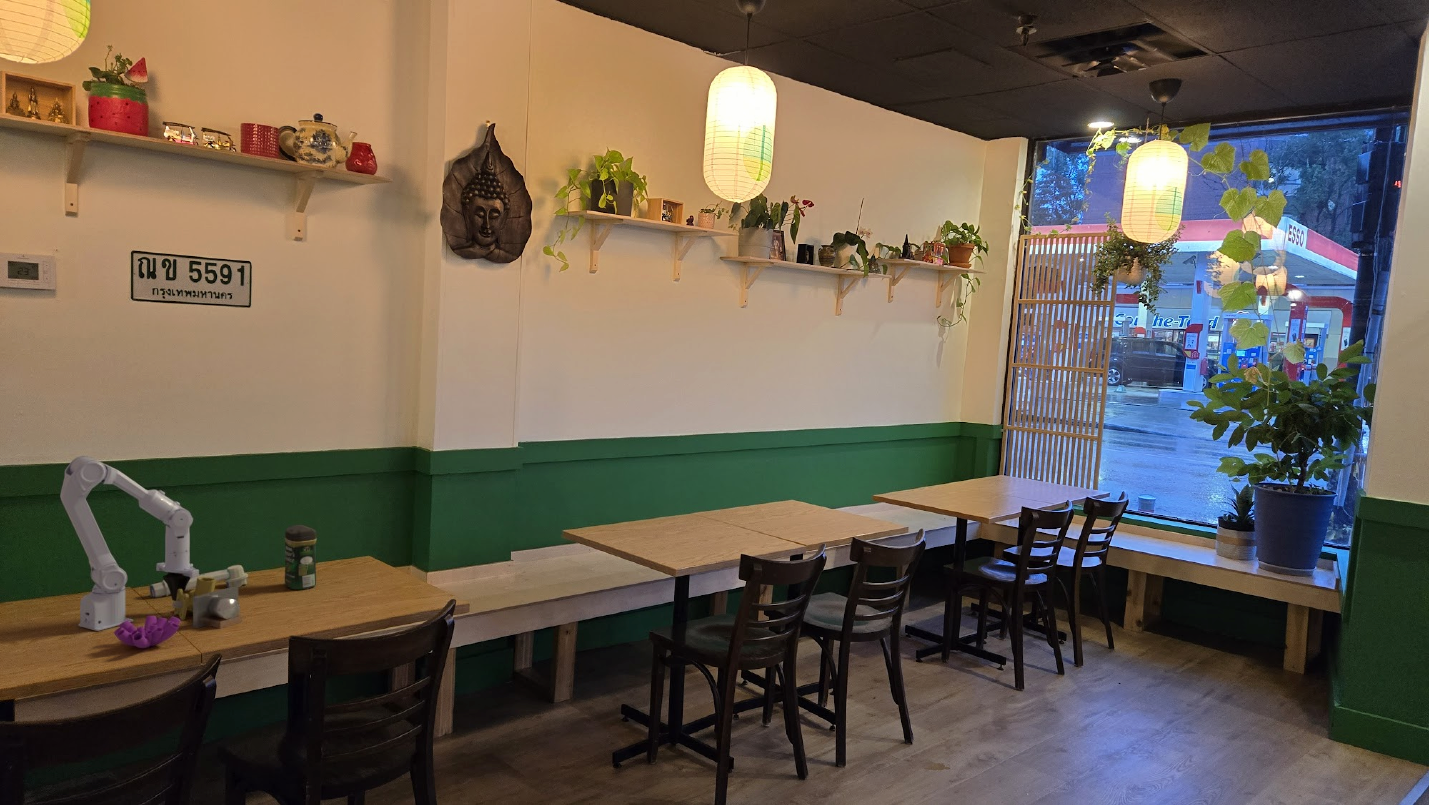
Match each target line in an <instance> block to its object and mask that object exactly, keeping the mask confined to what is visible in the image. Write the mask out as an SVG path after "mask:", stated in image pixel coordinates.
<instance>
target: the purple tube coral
mask: <svg viewBox="0 0 1429 805" xmlns="http://www.w3.org/2000/svg"><path fill="white" fill-rule="evenodd" d="M181 621H182V620H181V619H180V618H178V617H175V616H171V617H170V618H169V619H167V618H165V617H157V616H156V615H148V616H146V617H145V620H144V626H143V625H142V626H139V627H135V625H134V624H133V623H132V622H129V621H128V620H127V621H125V622H123V623H121V624H120V625H118V626H119V627H118V628H117V629H115V630H114V632H113V633H114V635H115V637H116V638H117V639H118V640H119V641H120V642H122V643H123V644H126V645H128V646H133V647H137V648H138V649H147V648H149V647H153V646H155V645H158V644H161V643H163V642H164V641H167V640H169V639H170V638H171V637H173V636H174V635H175V634H176V633H177V631H178V630H179V628H180V626H179V624H181Z"/></svg>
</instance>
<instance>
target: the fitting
mask: <svg viewBox="0 0 1429 805" xmlns="http://www.w3.org/2000/svg"><path fill="white" fill-rule="evenodd" d="M240 611H241V605H240V602H239V587H235V586H234V587H230V588H229V587H227V588H226V587H225V588H221V589H218V590H214V592H210V593H207V594H203V595H199V596H195V597H193V611H192V615H193V616H192V618H193V620H192V621H193V623H192V627H193V628H196V629H199V628H202V627H206V626H209V627H212V626H213V628H217V629H223V628H227V627H230V626H233V625H236V624H237V625H238V624H239V623H243V615H242V614H239V613H240Z"/></svg>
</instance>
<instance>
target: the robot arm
mask: <svg viewBox="0 0 1429 805" xmlns="http://www.w3.org/2000/svg"><path fill="white" fill-rule="evenodd" d="M100 483H101V484H103V485H113V486H115V487H117V488H119V489H120V490H122V491H124V492H125V493H126V494H129V495H130V496H131V497H133V498H134V499H136V500H138V506H139V508H140V509H142V510H144V511H145V512H146V513H148V514H150V515H151V516H153V517H154V518H156V519H157V520H159V521H162V523H163V524H164V525H165V534H164V535H165V536H164V537H165V541H164V543H165V547H164V548H165V552H164V554H165V555H164V557H165V560H164V562H158V563H156V565H155V566H156V567H155V568H156V570H155V571H156V572H157V571H158V572H166V573H167V574H165V575H163V576H162V579H163V580H164V581H165V582H166V583H167V585H168V588H169V590H170V596H171V600H172V601H173V602H174V601H176V598H177V593H178V589H182V590H183V593H184V594H185V591H186V590H185V589H186V586H187V584H188V582H189V580H190V579H191V578H196V577H199V575H200V570H199V569H196V568H195V567H194V564H193V563H190V551H191V550H190V546H191V545H190V544H191V543H190V542H191V541H190V540H191V539H190V534H191V533H190V527H191V526H192V524H193V521H194V517H193V516H192V515H191V512H190V511H189V510H188V509H186V508H183V507H182V506H181V503H180V502H178V501H174V500H173V499H171V498H169V497H167V496H166V495H165V494H166V492H165V491H162V490H161V489H159V490H157V489H149V490H148V489H146V488H144V487H143V486H141V485H140V484H139V483H137V482H136V481H135V480H133V479H131V478H130V477H129V476H127V475H126V474H124V473H123V472H122V471H120V470H118V469H116V468H114V467H112V466H110V465H108V464H106V463H103V462H101V461H99V460H96V459H94V457H92V456H89V455H80V456H77V457H75V458H74V459H72V460H71V462H70V463H69V464H68V466H67V467H66V468H65V469H64V479H63V481H62V487H61V490H60V500H61V503H62V505H63V507H64V509H65V511H66V513H67V515H68V517H69V519H70V521H71V524H72V526H73V528H74V530H75V532H76V535H77V536H78V538H79V541H80V542H81V545H82V547H83V549H84V552H85V554H86V555H87V558H88V563H89V565H90V569H91V570H90V578H91V580H92V581H93V583H95V584H94V585H93V587H92V589H91V592H90V593H88V594H86V595H84V596H81V598H80V602H79V623H78V627H81V628H85V629H89V630H93V631H98V632H99V631H102V630H107V629H111V628H114V627H118V626H119V625H120V624H121V623H123V622H125V621H127V620H128V621H129V622H130V623H133V622H134V619H132V618H129V617H126V584H127V582H128V575H127V572H126V571H125V570H124V569H123V568H121V567H119V564H118V563H117V561H116V560H115V557H114V555H112V553H111V551H110V549H109V547H108V545H107V544H108V543H107V542H106V540H105V539H104V536H103V534H102V531H101V529H100V527H99V525H98V523H97V521H96V518H95V516H94V513H93V512H92V510H91V507H90V506H89V504H88V501H87V497H88V495H89V494H90V492H92V489H94V488H95V487H96V486H97V485H99V484H100Z"/></svg>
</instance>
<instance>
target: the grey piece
mask: <svg viewBox="0 0 1429 805" xmlns="http://www.w3.org/2000/svg"><path fill="white" fill-rule="evenodd" d="M199 577H213V578H215V579H216V583H218V582H222V581H223V582H224V583H225V585H226V587H227V588H230V587H234V586H235V587H238V588H240V587H243V585H248V579H247V578H248V577H249V574H248V573H247V572H245V571H244V567H243V566H242V565H240V564H234V565H231V566H228V567H227V568H225V569H222V570H216V571H210V572H206V573H201V574H200V573H199ZM199 577H196V578H191V579H190V580H189V582H188V584H187V586H186V589H185V591H189V590H194V589H195V588H196V582H197V578H199ZM148 589H149V594H150V597H151V598H152V599H157V598H161V597H169V595H170V596H171V594H170V590H169V588H168V585H167V583H166V582H165V580H164V579H163V580H162V581H160V582H158V583H153V584H149V588H148Z"/></svg>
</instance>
